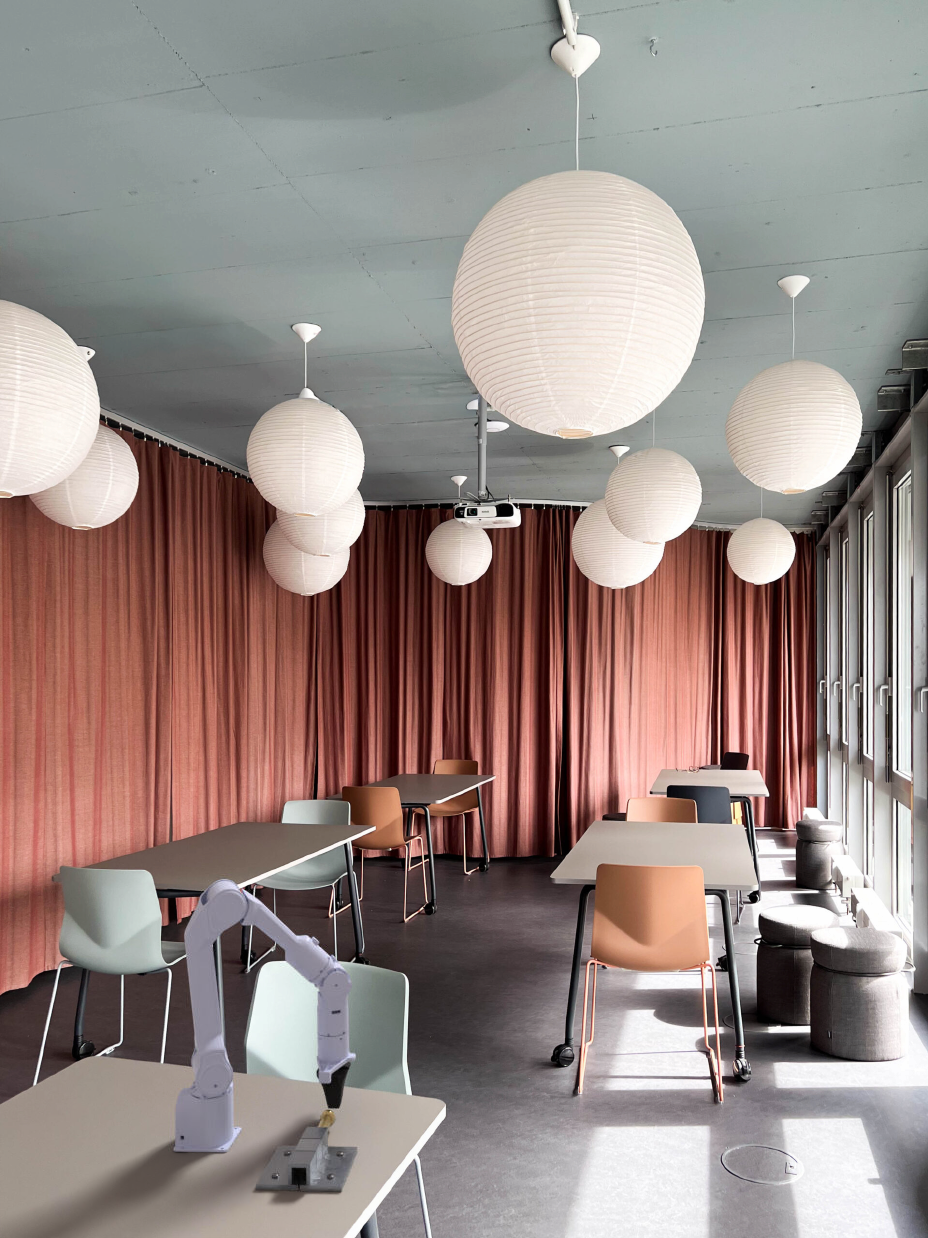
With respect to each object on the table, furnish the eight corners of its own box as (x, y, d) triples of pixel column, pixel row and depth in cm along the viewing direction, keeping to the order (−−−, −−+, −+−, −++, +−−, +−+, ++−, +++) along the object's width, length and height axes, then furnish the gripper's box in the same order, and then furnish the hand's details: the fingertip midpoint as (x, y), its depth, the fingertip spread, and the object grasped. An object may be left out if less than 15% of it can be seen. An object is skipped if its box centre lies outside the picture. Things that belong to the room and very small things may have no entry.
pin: (300, 1165, 150) (300, 1149, 150) (321, 1125, 164) (320, 1109, 164) (316, 1166, 150) (316, 1149, 150) (335, 1125, 163) (335, 1110, 164)
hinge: (256, 1189, 145) (256, 1163, 145) (278, 1150, 156) (278, 1126, 157) (341, 1191, 143) (341, 1165, 144) (357, 1152, 155) (356, 1127, 156)
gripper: (346, 1047, 162) (347, 1126, 161) (362, 1016, 176) (363, 1089, 175) (306, 1046, 162) (307, 1126, 161) (326, 1016, 177) (327, 1089, 176)
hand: (334, 1107), depth 168 cm, fingers closed
